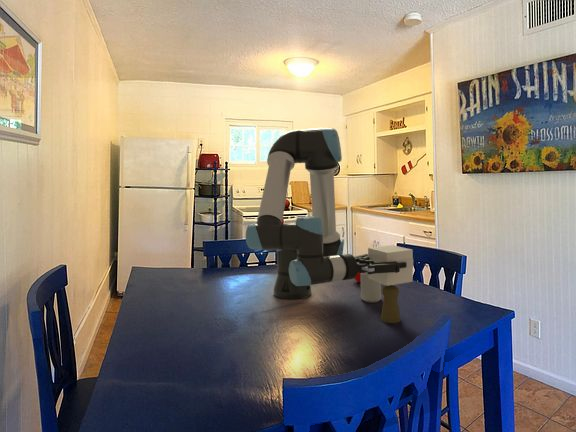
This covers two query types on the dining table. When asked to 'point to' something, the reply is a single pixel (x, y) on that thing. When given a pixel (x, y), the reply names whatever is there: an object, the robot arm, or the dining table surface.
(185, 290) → the dining table surface
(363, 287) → the can
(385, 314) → the cork
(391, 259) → the cream rounded cube
